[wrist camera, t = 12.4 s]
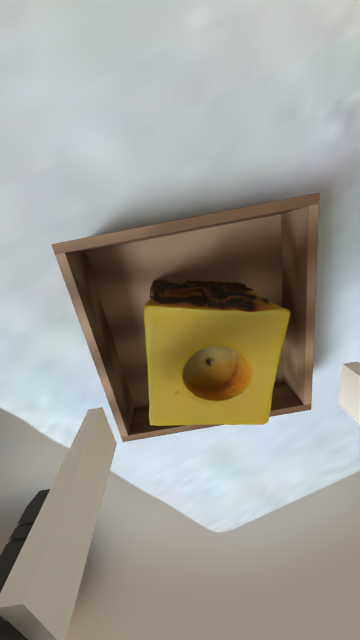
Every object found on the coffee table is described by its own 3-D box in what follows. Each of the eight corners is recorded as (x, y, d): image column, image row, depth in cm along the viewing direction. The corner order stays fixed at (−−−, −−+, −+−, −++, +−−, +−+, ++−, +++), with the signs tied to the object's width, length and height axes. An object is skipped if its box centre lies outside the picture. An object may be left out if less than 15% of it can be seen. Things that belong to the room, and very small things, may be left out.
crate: (79, 244, 22) (51, 244, 17) (283, 205, 22) (319, 192, 16) (131, 407, 29) (123, 442, 24) (285, 380, 29) (311, 409, 24)
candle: (152, 278, 23) (138, 301, 13) (244, 280, 23) (295, 304, 14) (153, 362, 26) (143, 428, 17) (234, 362, 26) (269, 426, 17)
